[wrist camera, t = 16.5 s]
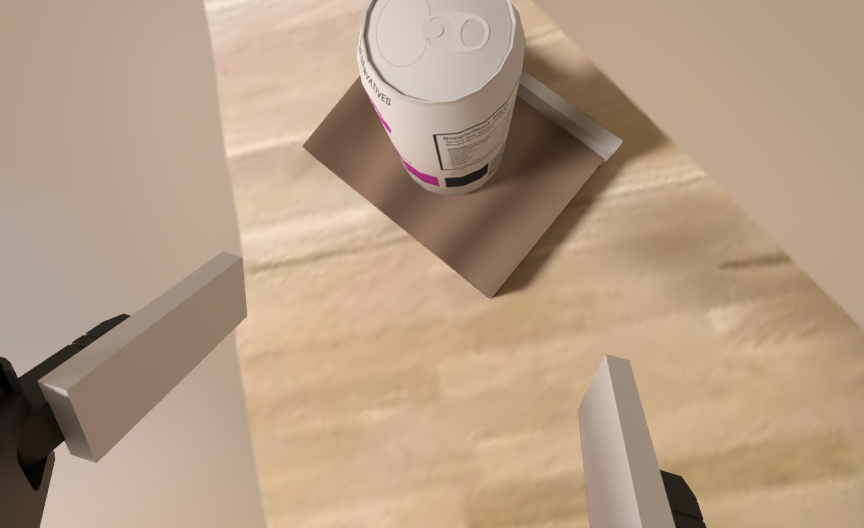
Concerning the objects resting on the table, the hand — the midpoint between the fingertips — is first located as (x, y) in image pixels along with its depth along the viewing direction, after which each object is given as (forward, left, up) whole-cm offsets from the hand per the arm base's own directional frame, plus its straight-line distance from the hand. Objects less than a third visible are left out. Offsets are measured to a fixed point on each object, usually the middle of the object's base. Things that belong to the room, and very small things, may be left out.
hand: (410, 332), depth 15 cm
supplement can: (+8, -11, -18) cm, 22 cm away
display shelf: (+8, -10, -21) cm, 25 cm away
